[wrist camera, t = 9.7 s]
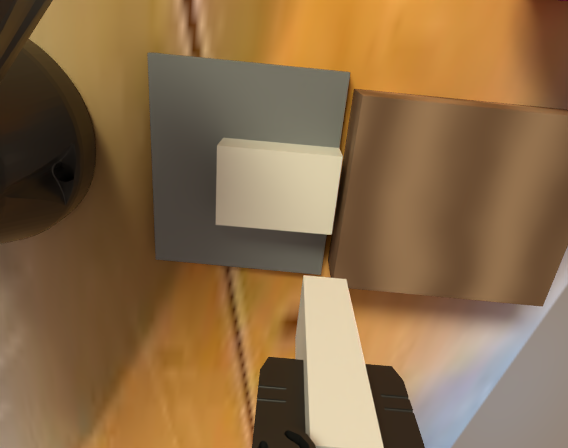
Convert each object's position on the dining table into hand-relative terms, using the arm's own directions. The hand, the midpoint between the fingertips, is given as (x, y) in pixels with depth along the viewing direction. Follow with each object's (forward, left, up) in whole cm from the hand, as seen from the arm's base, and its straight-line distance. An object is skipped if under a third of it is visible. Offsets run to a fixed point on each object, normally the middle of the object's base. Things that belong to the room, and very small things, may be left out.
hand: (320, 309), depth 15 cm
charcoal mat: (-2, -4, -17) cm, 17 cm away
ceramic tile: (-1, -2, -16) cm, 16 cm away
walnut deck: (+5, +8, -17) cm, 19 cm away
